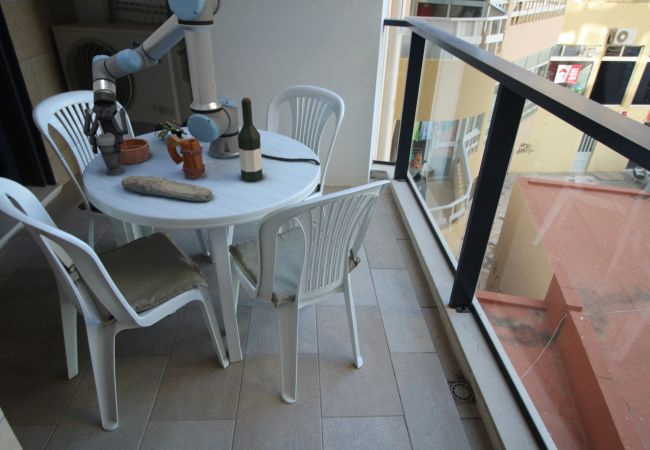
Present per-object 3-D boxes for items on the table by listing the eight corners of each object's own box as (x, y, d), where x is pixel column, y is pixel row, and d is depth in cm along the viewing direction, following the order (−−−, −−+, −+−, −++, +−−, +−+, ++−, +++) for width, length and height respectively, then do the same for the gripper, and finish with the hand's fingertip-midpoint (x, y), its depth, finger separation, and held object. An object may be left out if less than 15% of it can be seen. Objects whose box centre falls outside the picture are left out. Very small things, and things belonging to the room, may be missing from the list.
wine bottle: (245, 183, 146) (237, 102, 130) (238, 175, 152) (230, 96, 136) (266, 179, 149) (261, 100, 133) (258, 171, 156) (253, 94, 140)
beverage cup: (117, 177, 148) (103, 125, 137) (100, 174, 149) (85, 123, 138) (129, 169, 154) (116, 119, 143) (113, 167, 155) (99, 117, 144)
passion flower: (180, 149, 187) (192, 130, 182) (166, 153, 177) (178, 133, 172) (162, 133, 186) (173, 114, 181) (147, 137, 176) (159, 116, 171)
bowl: (158, 157, 165) (155, 143, 162) (126, 167, 155) (122, 153, 152) (139, 149, 172) (136, 136, 169) (108, 158, 162) (104, 144, 159)
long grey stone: (204, 210, 131) (219, 198, 140) (203, 196, 129) (218, 184, 137) (114, 190, 137) (133, 179, 146) (111, 176, 135) (131, 166, 143)
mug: (211, 173, 153) (206, 136, 145) (199, 182, 146) (193, 143, 138) (180, 167, 157) (173, 131, 148) (166, 175, 150) (158, 138, 142)
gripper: (136, 100, 154) (139, 154, 149) (79, 101, 149) (80, 158, 145) (130, 89, 146) (133, 146, 142) (71, 91, 142) (72, 149, 138)
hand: (106, 152), depth 143 cm, fingers closed on beverage cup, 7 cm apart
